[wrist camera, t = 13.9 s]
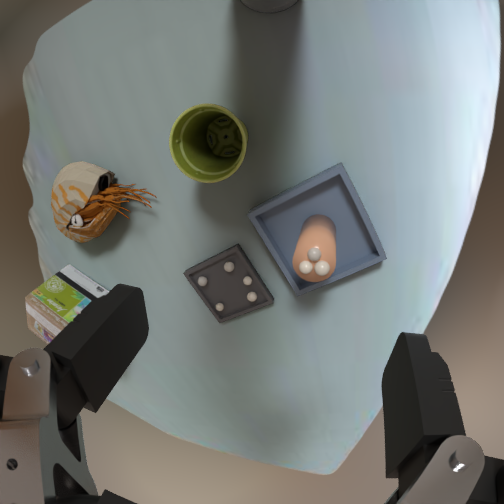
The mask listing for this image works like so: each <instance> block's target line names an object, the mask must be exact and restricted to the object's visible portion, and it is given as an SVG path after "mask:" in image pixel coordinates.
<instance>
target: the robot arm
mask: <svg viewBox="0 0 504 504" xmlns="http://www.w3.org/2000/svg"><path fill="white" fill-rule="evenodd" d="M297 1H298V0H241V2H242V3H243V4H245V5H246V6H247V7H249V8H251V9H253V10H255V11H259V12H265V13H273V12H279V11H282V10H285V9H287V8H289V7H291V6H292V5H294V4H295V3H296V2H297ZM148 331H149V325H148V319H147V313H146V307H145V301H144V295H143V291H142V290H141V289H140V288H138V287H133V286H129V285H124V284H117V285H116V286H115V287H114V288H113V289H112V290H111V291H110V292H109V293H108V294H107V295H103V296H101V297H99V298H97V299H95V300H93V301H91V302H90V303H89V304H88V305H87V306H86V307H85V308H84V309H83V310H82V311H81V313H80V314H78V315H77V316H76V317H75V318H74V319H73V321H71V322H70V323H69V324H68V325H67V326H66V327H65V328H64V329H63V330H62V331H61V332H60V333H59V334H58V335H57V336H56V337H55V338H54V339H53V340H52V341H51V342H50V343H49V344H48V345H47V346H46V347H45V348H44V349H40V348H29V349H25V350H23V351H21V352H20V353H18V354H17V355H16V356H15V357H9V356H3V355H0V504H137V503H134V502H132V501H130V500H127V499H125V498H123V497H121V496H118V495H116V494H114V493H112V492H110V491H108V490H104V492H103V494H102V496H98V492H97V489H96V485H95V483H94V480H93V478H92V476H91V474H90V472H89V469H88V466H87V460H86V454H85V447H84V440H83V431H82V422H81V416H80V414H79V413H80V411H81V410H82V408H83V407H84V408H86V409H88V410H90V411H92V412H95V413H96V412H97V411H98V409H99V408H100V406H101V405H102V404H103V402H104V401H105V399H106V398H107V396H108V395H109V393H110V392H111V390H112V389H113V387H114V386H115V385H116V383H117V382H118V380H119V379H120V377H121V376H122V375H123V373H124V372H125V370H126V369H127V367H128V366H129V365H130V363H131V362H132V360H133V359H134V357H135V356H136V355H137V353H138V352H139V350H140V349H141V348H142V346H143V345H144V343H145V342H146V339H147V336H148ZM382 398H383V411H384V429H385V456H386V457H385V458H386V478H398V479H399V487H398V488H397V489H396V490H395V491H394V492H393V493H392V495H391V496H390V497H389V498H388V499H387V501H386V502H385V503H384V504H504V460H502V459H497V458H493V457H488V456H485V455H484V453H483V450H482V448H481V447H480V445H479V444H478V443H477V442H476V441H475V440H473V439H472V438H470V437H467V436H466V434H465V430H464V425H463V421H462V416H461V412H460V409H459V405H458V400H457V397H456V393H454V386H453V382H451V375H450V372H449V369H448V365H447V364H446V363H445V362H444V360H443V359H442V357H441V356H440V355H439V354H438V353H436V352H431V349H430V346H429V342H428V339H427V337H426V335H424V334H415V333H405V332H402V333H401V334H400V335H399V337H398V339H397V341H396V344H395V346H394V348H393V351H392V353H391V355H390V358H389V360H388V362H387V365H386V367H385V369H384V373H383V377H382Z"/></svg>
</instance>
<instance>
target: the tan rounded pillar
mask: <svg viewBox="0 0 504 504" xmlns="http://www.w3.org/2000/svg"><path fill="white" fill-rule="evenodd" d="M292 263H293V268H294V270H295V272H296V273H297V274H298V275H299V276H300V277H301V278H302V279H304V280H306V281H310V282H320V281H323V280H325V279H327V278H329V277H330V276H331V275H332V273H333V272H334V270H335V267H336V226H335V224H334V222H333V221H332V220H331V219H330V218H329V217H327V216H325V215H320V214H316V215H312V216H310V217H308V218H307V219H306V220H305V221H304V223H303V225H302V228H301V231H300V235H299V238H298V242H297V245H296V249H295V252H294V256H293V260H292Z"/></svg>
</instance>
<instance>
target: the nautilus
mask: <svg viewBox="0 0 504 504" xmlns="http://www.w3.org/2000/svg"><path fill="white" fill-rule="evenodd" d="M114 175H115V174H114V173H113V172H111V171H109V170H107V169H104V168H101V167H99V166H96V165H94V164H90V163H86V162H82V161H81V162H75V163H71V164H69V165H67V166H65V167H64V168H62V170H61V171H60V172H59V174H58V175H57V177H56V179H55V181H54V184H53V188H52V197H51V206H52V210H53V215H54V220H55V224H56V227H57V228H58V229H59V230H60V231H61V232H62V233H63V234H64V235H65V236H66V237H68V238H69V239H71V240H74V241H76V242H79V243H84V242H88V241H90V240H92V239H93V238H96V237H98V236H100V235H101V234H102V233H103V232H104V230H105V229H106V228H107V227H108V225H109V224H110V222H111V221H112V219H113V218H114V217H115V215H116V213H117V212H120V211H119V208H122V209H124V208H123V207H120V206H121V202H130V201H121V200H120V199H122V198H127V200H128V198H129V199H133V200H137V201H139V202H143V201H142V199H141V198H143V199H144V200H146V199H145V198H144V197H142V196H140V195H138V194H136V193H134V192H133V191H140V192H144V193H148V194H150V195H152V196H154V195H153V194H151V193H149V192H145V191H142V190H145V189H140V190H138V189H132V190H131V188H125V189H124V188H119V187H116V186H119V185H122V184H112V181H113V178H114ZM132 185H134V184H132ZM123 186H125V185H123ZM126 186H131V185H126ZM125 192H131V193H133V194H134V195H136V196H137V197H138V198H137V197H135V196H132V195H129V194H126V193H125ZM124 195H125V196H124ZM126 195H128V196H126ZM133 197H134V198H133ZM140 197H141V198H140ZM155 197H156V196H155ZM136 198H137V199H136ZM156 198H157V197H156ZM146 201H148V200H146ZM148 202H149V201H148ZM143 203H144V205H145V204H146V205H148V204H147V203H145V202H143ZM149 203H150V202H149ZM148 206H150V205H148ZM150 207H151V206H150ZM151 208H152V207H151ZM124 210H127V209H124ZM127 211H129V210H127ZM129 212H130V211H129ZM120 213H122V212H120ZM122 214H123V213H122ZM123 215H124V216H126V215H125V214H123ZM126 217H127V216H126ZM127 218H128V217H127ZM128 219H129V218H128Z"/></svg>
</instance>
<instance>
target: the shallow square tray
mask: <svg viewBox="0 0 504 504" xmlns="http://www.w3.org/2000/svg"><path fill="white" fill-rule="evenodd" d="M316 214H320V215H325V216H327V217H329V218H330V219H331V220H332V221H333V222H334V224H335V226H336V267H335V270H334V272H333V273H332V275H331V276H330V277H329V278H327V279H325V280H323V281H320V282H310V281H306V280H304V279H302V278H301V277H300V276H299V275H298V274H297V273H296V272H295V270H294V268H293V263H292V260H293V256H294V252H295V249H296V245H297V242H298V238H299V235H300V231H301V228H302V225H303V223H304V221H305V220H306V219H307V218H308V217H310V216H312V215H316ZM247 215H248V217H249V219H250V220H251V222H252V223H253V225H254V227H255V228H256V230H257V231H258V233H259V235H260V236H261V238H262V239H263V241H264V243H265V244H266V246H267V248H268V249H269V251H270V252H271V254H272V256H273V257H274V259H275V260H276V262H277V264H278V265H279V267H280V269H281V270H282V272H283V273H284V275H285V277H286V278H287V280H288V282H289V283H290V285H291V287H292V288H293V290H294V291H295V293H296V295H297V296H300V295H302V294H305V293H307V292H310V291H312V290H315V289H317V288H319V287H322V286H324V285H327V284H329V283H332V282H334V281H336V280H339V279H341V278H344V277H346V276H348V275H351V274H353V273H355V272H358V271H360V270H362V269H365V268H367V267H369V266H372V265H374V264H376V263H378V262H381V261H383V260H385V259H387V257H386V254H385V251H384V249H383V247H382V244H381V242H380V240H379V238H378V235H377V233H376V231H375V229H374V227H373V224H372V222H371V220H370V218H369V216H368V214H367V212H366V210H365V208H364V205H363V203H362V201H361V199H360V197H359V195H358V193H357V191H356V189H355V187H354V185H353V183H352V181H351V179H350V178H349V176H348V174H347V172H346V170H345V168H344V166H343V164H342V162H341V163H339V164H337V165H335V166H333V167H331V168H329V169H327V170H325V171H323V172H321V173H319V174H317V175H315V176H313V177H311V178H309V179H307V180H305V181H303V182H301V183H300V184H298V185H296V186H294V187H292V188H290V189H288V190H286V191H284V192H282V193H280V194H278V195H277V196H275V197H273V198H271V199H269V200H267V201H265V202H263V203H261V204H260V205H258V206H256V207H254V208H252V209H251V210H250V211H249V213H248V214H247Z"/></svg>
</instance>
